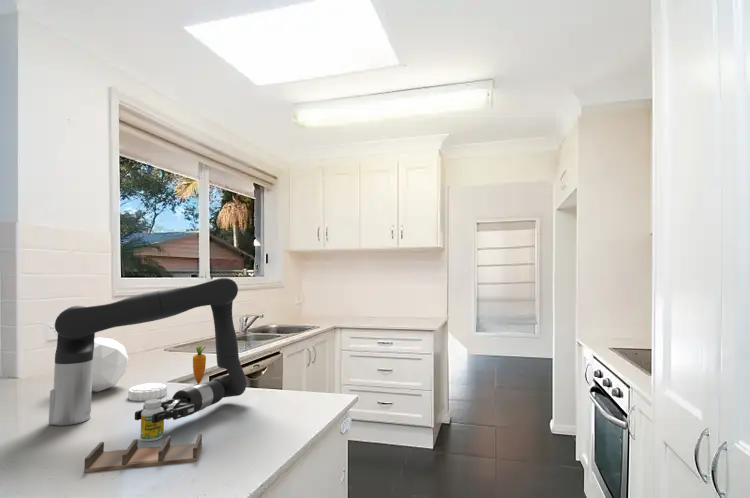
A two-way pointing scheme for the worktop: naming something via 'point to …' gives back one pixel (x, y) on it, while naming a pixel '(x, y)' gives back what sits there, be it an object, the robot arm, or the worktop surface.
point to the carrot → (199, 364)
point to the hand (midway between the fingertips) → (144, 417)
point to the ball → (108, 363)
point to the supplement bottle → (147, 427)
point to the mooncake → (147, 391)
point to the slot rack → (142, 455)
